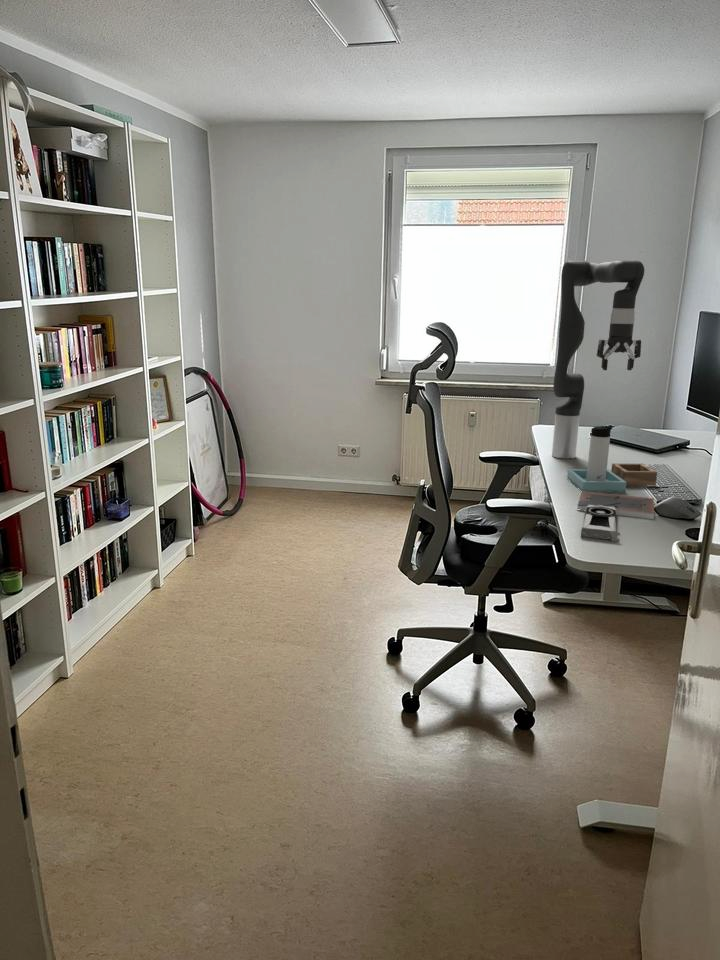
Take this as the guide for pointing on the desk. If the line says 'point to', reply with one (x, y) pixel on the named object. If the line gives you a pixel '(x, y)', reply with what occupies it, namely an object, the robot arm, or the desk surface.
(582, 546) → the desk surface
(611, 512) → the graphics card
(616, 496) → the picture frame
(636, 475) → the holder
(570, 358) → the robot arm
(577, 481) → the tray
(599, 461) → the travel mug
